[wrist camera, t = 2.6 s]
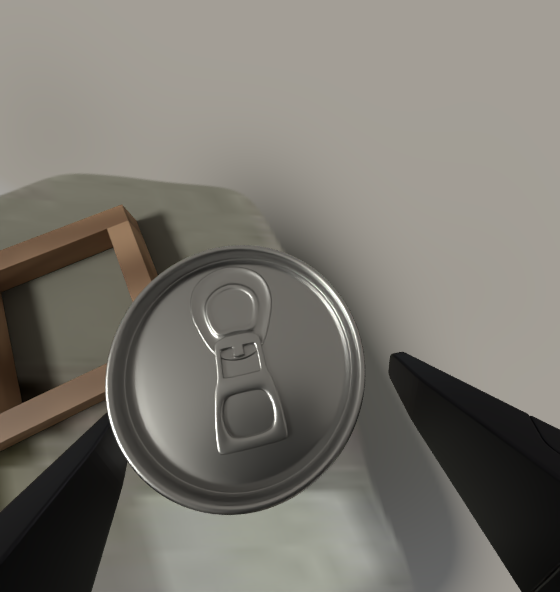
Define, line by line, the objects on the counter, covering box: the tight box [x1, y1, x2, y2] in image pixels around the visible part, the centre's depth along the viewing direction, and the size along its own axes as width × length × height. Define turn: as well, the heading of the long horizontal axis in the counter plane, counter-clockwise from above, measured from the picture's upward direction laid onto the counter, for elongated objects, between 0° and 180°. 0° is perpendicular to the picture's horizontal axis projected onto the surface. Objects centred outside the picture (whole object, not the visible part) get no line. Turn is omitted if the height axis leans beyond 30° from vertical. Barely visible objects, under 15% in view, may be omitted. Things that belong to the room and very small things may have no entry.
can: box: [105, 245, 365, 515], centre depth 11 cm, size 6×6×12 cm
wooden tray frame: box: [0, 205, 158, 451], centre depth 16 cm, size 12×18×2 cm, turn 117°
